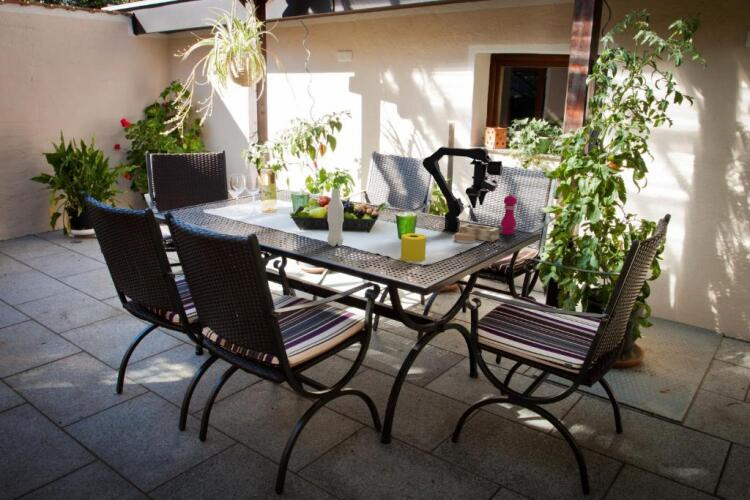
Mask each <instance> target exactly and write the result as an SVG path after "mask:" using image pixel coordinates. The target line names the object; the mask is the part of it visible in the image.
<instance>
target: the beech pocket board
mask: <svg viewBox="0 0 750 500" xmlns="http://www.w3.org/2000/svg"><path fill="white" fill-rule="evenodd" d="M459 233H466V234H476V239H475V240H480V241H485V242H492V243H493V242H495V241H496V240H499V237H500V236H499V233H500V228H499V227H494V226H487V225H479V224H473V223H464V224H462V225H460V230H459Z"/></svg>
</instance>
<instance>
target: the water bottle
mask: <svg viewBox="0 0 750 500" xmlns="http://www.w3.org/2000/svg"><path fill="white" fill-rule="evenodd" d="M330 198H331V199H330V200H329V202H328V204H327V219H326V220H327V223H328V235H327V239H326V240H327V244H328V245H329V246H331V247H336V245H337V247H341V246H342V245H343V243H344V240H345V239H344V238H345V237H344V235H343V223H344V221H345V220H344V210H345V209H344V208H345V207H344V205H343V202H342V200H341V197H340V189H339V188H332V190H331V197H330Z"/></svg>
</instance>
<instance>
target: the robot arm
mask: <svg viewBox="0 0 750 500" xmlns="http://www.w3.org/2000/svg"><path fill="white" fill-rule="evenodd" d="M444 156H449V157H450V156H451V157H461V158H462V157H465V158H469V159H472V161H471V162H470V163H469V165H473V175H472V176H471V179H472V181H473V182H472V184H471V185H470V186H468V187H467V188H466V189H465V194H466V196H467V197H468V199H469V202H470V204H471V207H472V209H475V208H476V206H477V201H478V202H479V205H480V206H483V204H484V201H485V198H486V196H487V194H488V193H490V192H492V193H493V192H494V191H496V189H497V188H498V180H496V179H493V180H490V179H488V175H489V176H499V177H501V176H502V174H503V170H504V167H503V161H502V160H492V158H491V157H490V155H489V151H488V149H487V148H486V147H484V146H482V147H474V148H473V147H472V148H462V147H451V146H450V147H449V146H440V147H439V148H438V149H437V150H436V151H435V152H433V153H432V154H431V155H430V156H429V155H428V156H427V157H425V158H423V160H422V166H423V167H424V169H425V170H426V171H427V173H429V174H430V175H431V176H432V177H433V179H434V181H435V183H436V185H437V186H438V189H439V190H440V192H441V194H442V196H443V197H444V199H445V201H446V207H447V210H448V211H447V212H446V213H445V214H444V228H443V229H442V230H443V231H446V232H451V233H452V232H453V233H457V232H458V231H460V226H461V221H460V218H459V217H460V215H462V213H463V212H464V210H465V208H464V207H465V206H464V205H465V204H464V203H463V201H462V199H461V197H459V198H457V197H456V196H455V194H454V193H453V191H452V190H451V188H450V186H449V185H448V183H447V181H446V179H445V177H444V175H443V173H442V171H441V168H440V163H439V161H440V160H441V159H442V158H444ZM487 174H488V175H487Z"/></svg>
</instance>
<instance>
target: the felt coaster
mask: <svg viewBox="0 0 750 500" xmlns="http://www.w3.org/2000/svg"><path fill="white" fill-rule="evenodd" d="M476 240H477V239H475V241H474V242H475V243H476ZM455 242H457V243H461V244H473V243H474V242H472V241H462V240H455Z"/></svg>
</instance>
